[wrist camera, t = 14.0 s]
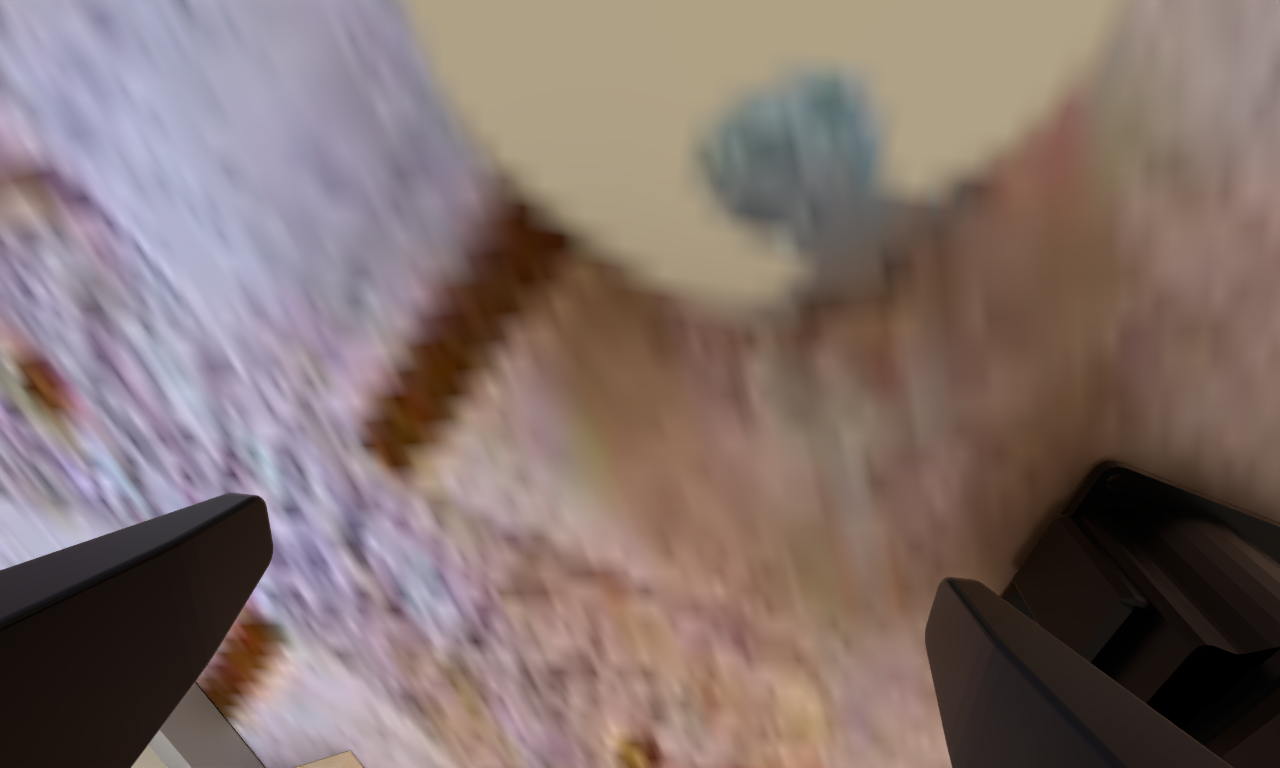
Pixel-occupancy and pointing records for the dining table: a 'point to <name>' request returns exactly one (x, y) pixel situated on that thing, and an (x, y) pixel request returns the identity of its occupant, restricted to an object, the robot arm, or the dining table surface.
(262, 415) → the dining table surface
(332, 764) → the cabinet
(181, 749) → the cream l-shaped piece
